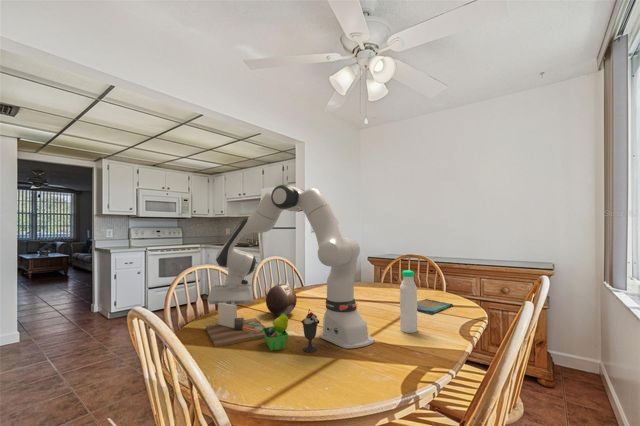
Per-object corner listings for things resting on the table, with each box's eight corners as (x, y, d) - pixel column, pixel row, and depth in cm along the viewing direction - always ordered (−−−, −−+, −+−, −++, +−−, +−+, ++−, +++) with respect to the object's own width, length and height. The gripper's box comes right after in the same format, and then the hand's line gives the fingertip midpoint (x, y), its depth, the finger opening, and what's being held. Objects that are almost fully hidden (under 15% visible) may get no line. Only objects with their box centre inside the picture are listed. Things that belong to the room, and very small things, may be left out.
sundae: (305, 355, 106) (305, 311, 106) (298, 348, 111) (297, 306, 112) (322, 351, 109) (322, 308, 109) (314, 344, 115) (314, 304, 115)
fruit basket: (261, 341, 118) (262, 311, 119) (284, 338, 121) (284, 309, 122) (267, 352, 108) (267, 320, 108) (292, 349, 111) (292, 317, 111)
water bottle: (418, 329, 131) (417, 270, 131) (416, 334, 124) (415, 272, 125) (401, 326, 134) (401, 269, 134) (398, 332, 127) (398, 271, 128)
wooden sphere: (283, 322, 140) (283, 289, 141) (259, 316, 148) (259, 285, 149) (302, 313, 153) (302, 283, 153) (279, 309, 161) (279, 280, 161)
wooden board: (272, 336, 123) (272, 332, 123) (214, 347, 112) (215, 343, 112) (255, 320, 142) (255, 317, 142) (205, 328, 132) (205, 325, 132)
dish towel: (401, 308, 163) (401, 304, 163) (424, 301, 178) (424, 296, 179) (431, 316, 150) (431, 311, 150) (453, 307, 166) (453, 302, 166)
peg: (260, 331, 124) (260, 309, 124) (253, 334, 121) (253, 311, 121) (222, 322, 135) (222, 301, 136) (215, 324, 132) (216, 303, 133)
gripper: (210, 281, 144) (201, 308, 134) (253, 281, 144) (248, 308, 134) (213, 289, 149) (205, 315, 139) (255, 289, 148) (250, 315, 138)
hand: (227, 312), depth 136 cm, fingers closed
